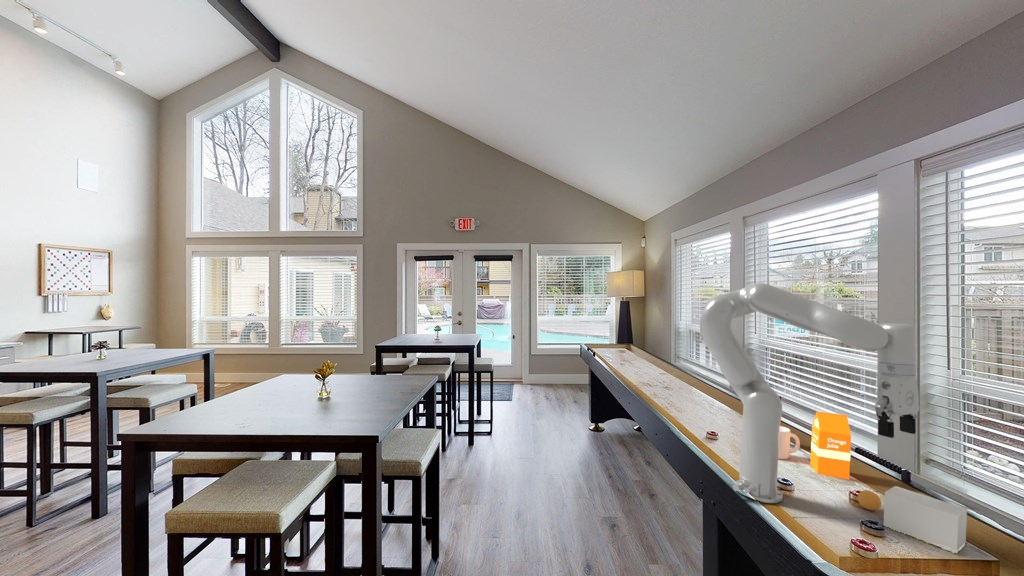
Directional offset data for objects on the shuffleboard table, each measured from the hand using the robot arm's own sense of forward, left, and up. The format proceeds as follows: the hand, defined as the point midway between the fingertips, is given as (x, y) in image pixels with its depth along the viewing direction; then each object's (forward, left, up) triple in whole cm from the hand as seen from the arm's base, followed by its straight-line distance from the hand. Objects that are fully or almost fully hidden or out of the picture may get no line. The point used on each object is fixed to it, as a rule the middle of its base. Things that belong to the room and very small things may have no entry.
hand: (896, 434), depth 111 cm
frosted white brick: (-2, -6, -23) cm, 24 cm away
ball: (+2, +6, -20) cm, 21 cm away
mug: (+22, +38, -23) cm, 49 cm away
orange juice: (+22, +23, -23) cm, 39 cm away
